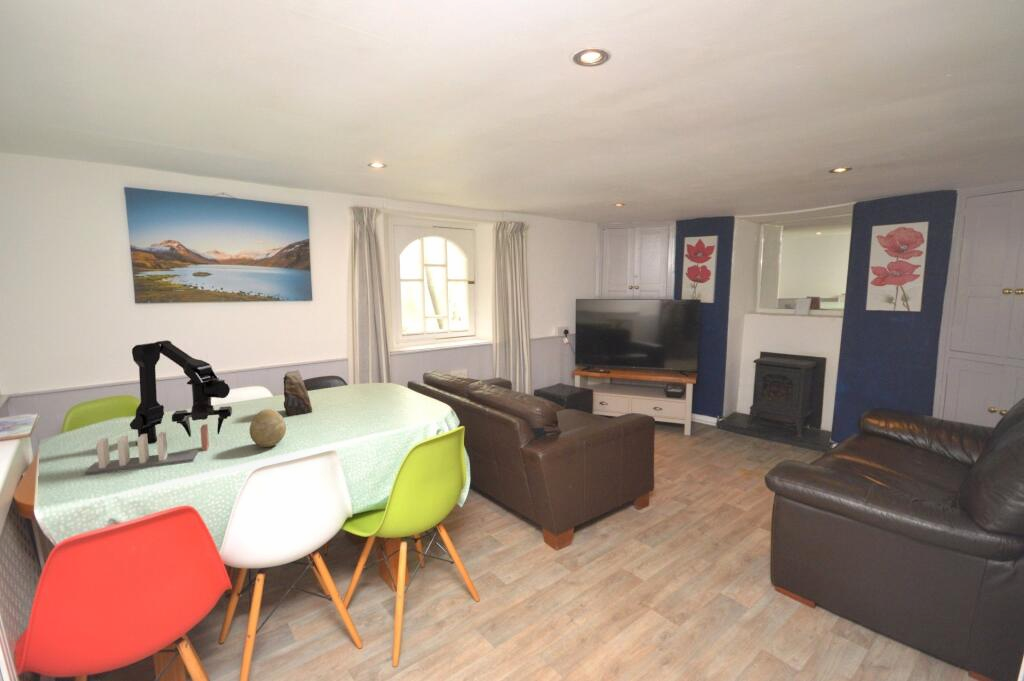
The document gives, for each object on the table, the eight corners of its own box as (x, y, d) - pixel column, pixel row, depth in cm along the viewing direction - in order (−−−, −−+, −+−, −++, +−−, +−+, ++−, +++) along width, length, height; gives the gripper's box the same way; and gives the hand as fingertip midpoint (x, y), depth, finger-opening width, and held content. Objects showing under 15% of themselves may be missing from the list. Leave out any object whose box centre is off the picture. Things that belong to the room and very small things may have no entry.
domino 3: (143, 458, 164) (141, 434, 163) (149, 457, 165) (147, 433, 164) (139, 463, 160) (137, 438, 159) (145, 462, 160) (143, 438, 159)
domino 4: (162, 456, 167) (160, 432, 165) (167, 455, 167) (165, 431, 166) (158, 461, 162) (156, 436, 161) (164, 460, 163) (162, 436, 162)
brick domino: (204, 446, 179) (202, 424, 178) (209, 445, 180) (207, 423, 179) (202, 450, 175) (200, 428, 174) (207, 450, 175) (205, 427, 174)
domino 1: (104, 463, 160) (101, 438, 158) (110, 462, 160) (107, 437, 159) (99, 468, 155) (96, 443, 154) (105, 467, 156) (102, 442, 155)
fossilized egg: (292, 440, 187) (291, 405, 185) (276, 452, 175) (274, 414, 173) (262, 439, 188) (260, 404, 186) (243, 451, 175) (241, 413, 173)
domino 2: (124, 460, 162) (122, 436, 161) (130, 459, 163) (127, 435, 161) (119, 465, 157) (117, 440, 156) (125, 465, 158) (123, 440, 157)
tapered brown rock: (286, 417, 217) (284, 376, 215) (277, 411, 226) (275, 371, 224) (313, 412, 226) (311, 372, 223) (304, 406, 235) (302, 368, 232)
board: (95, 465, 160) (94, 462, 160) (197, 452, 173) (197, 450, 173) (84, 475, 152) (84, 472, 152) (192, 461, 165) (192, 458, 165)
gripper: (166, 403, 163) (169, 445, 165) (227, 398, 171) (230, 438, 173) (173, 396, 173) (177, 435, 175) (231, 391, 181) (233, 429, 183)
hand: (204, 435), depth 177 cm, fingers open, 9 cm apart
